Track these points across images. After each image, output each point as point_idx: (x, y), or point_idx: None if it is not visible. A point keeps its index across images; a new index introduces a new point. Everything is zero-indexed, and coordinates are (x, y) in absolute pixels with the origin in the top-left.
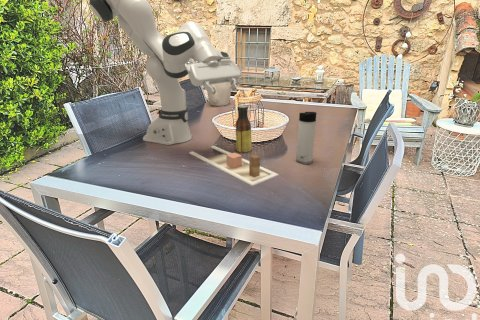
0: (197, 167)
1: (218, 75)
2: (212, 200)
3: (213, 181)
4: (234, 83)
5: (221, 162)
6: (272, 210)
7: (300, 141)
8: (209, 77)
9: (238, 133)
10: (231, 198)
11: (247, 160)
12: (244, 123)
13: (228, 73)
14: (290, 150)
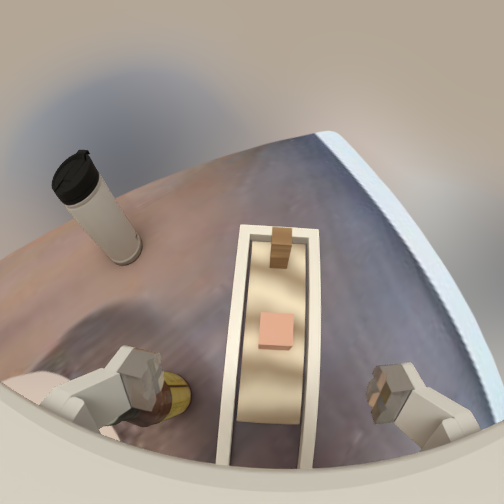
0: (338, 409)
1: (295, 500)
2: (393, 257)
3: (355, 317)
4: (106, 374)
5: (286, 374)
6: (331, 180)
7: (120, 220)
8: (461, 452)
9: (174, 398)
10: (364, 241)
11: (229, 327)
12: None
13: (61, 460)
14: (85, 308)
